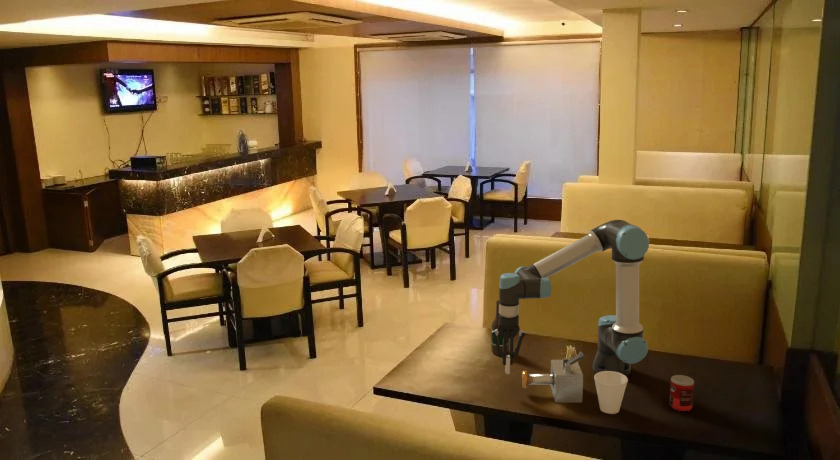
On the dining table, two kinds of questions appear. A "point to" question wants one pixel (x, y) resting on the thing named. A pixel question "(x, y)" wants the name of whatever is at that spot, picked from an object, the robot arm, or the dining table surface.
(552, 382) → the pin
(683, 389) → the canned food
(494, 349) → the beer bottle
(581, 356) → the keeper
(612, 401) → the cup
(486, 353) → the dining table surface
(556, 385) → the hitch block
